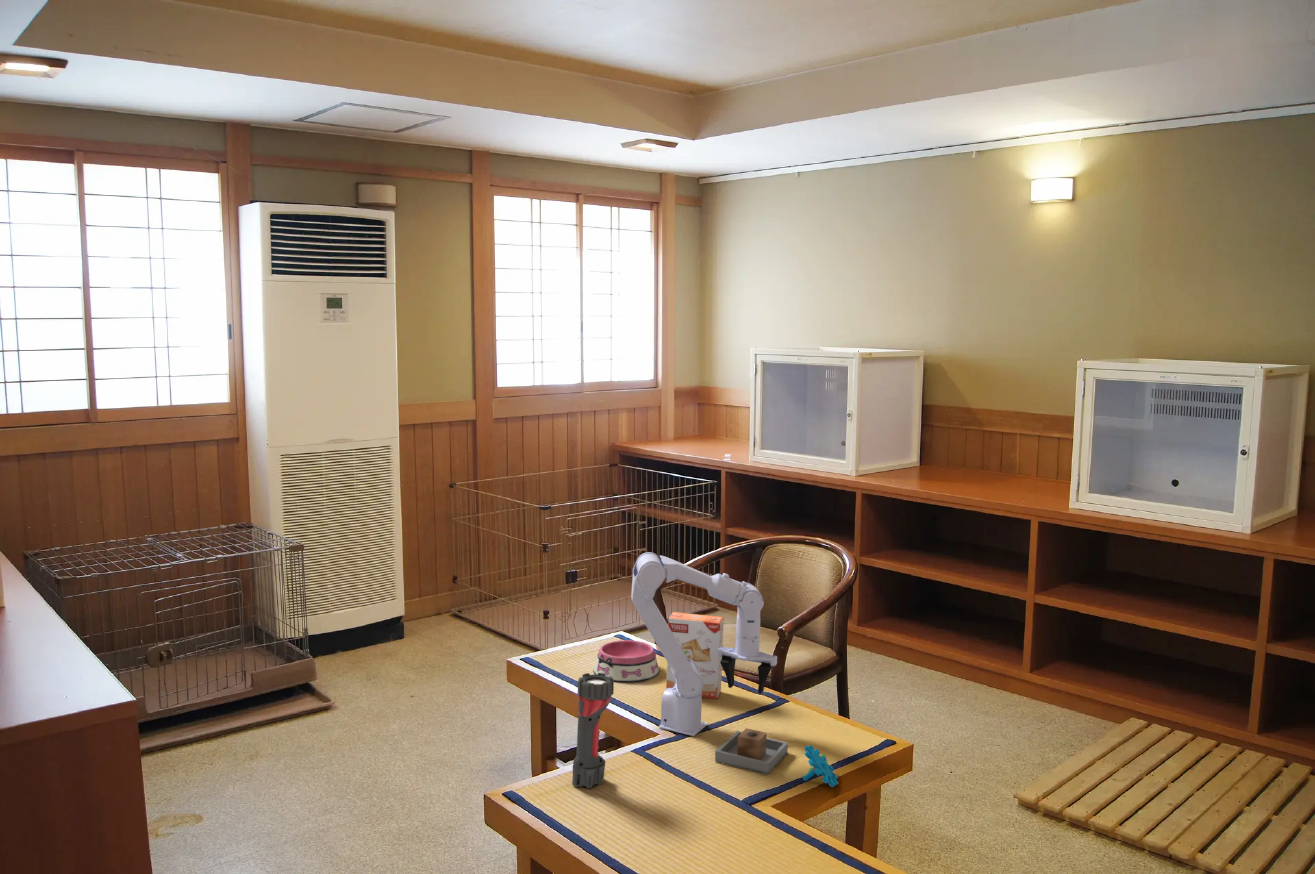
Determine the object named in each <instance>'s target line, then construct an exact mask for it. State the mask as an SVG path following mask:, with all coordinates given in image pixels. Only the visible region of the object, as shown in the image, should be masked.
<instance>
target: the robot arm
mask: <svg viewBox="0 0 1315 874" xmlns="http://www.w3.org/2000/svg"><path fill="white" fill-rule="evenodd" d="M664 580H665V583H666V584H669V583H670V582H673V581H676V580H680V581H682V582H685V583H687V584H689V585H693V586H697V587H700V588H703V589H706V590H707V593H708V596H709V597H711V598H714V599H716V600H719V601H722V602H723V603H727V604H729V605H731V606H737V611H736V612H737V614H736V623H735V625H736V628H735V629H736V630H735V633H736V634H735V647H724V646H723V647H720V648H719V649H718V657H722V660H720V663H721V665H722V670H723V671H724V674H725V676H726V677H725V678H726V680H727V688H729V689H731V688H733V686H734V685H735V668H736V661H737V660H739V661H744V662H745V661H746V662H753V663H759V666H757V672H758V688H757V693H758V694H762V693H763V692H764V690H765V685H766V682H767V680H768V677H769V674H770V673H771V670H772V668H773V667H776V666H777V664H778V656H777V655H773V654H769V653H765V652H763V651H760V639H761V611H762V609H763V608H764V605H765V602H764V598H763V596H762V594H761V592H760V591H759V590H758V588H757V587H756V586H755V585H753V584H751V582H746V581H744V580H743V581H738V580H735V579H732V577H731V578H730V575H729V574H728V573H725V572H724V573H722V574H721V573H716V574H713V575H709V574H707V573H705V572H702V571H700V570H697V569H696V568H693V567H691V566H688V565H687V564H684V563H682V562H680V561H677V560H675V559H672V558H670V557H667V556H664V555H657V554H656V553H654V552H649V551H647V552H644V553H642V554H640V555H639V556H638V558H637V559H636V561H635V563H634V565H633V568H632V581H631V595H630V597H631V602H632V605H633V606H634V608H635V610H636V611H637V613H638V615H639V616H640V618H641V620H642V622H643V623H644V625H645V627H646V628H647V630H648V632H649V633H650V635H651V636H652V637H651V638H653V640H654V642H655V643H656V645H657V647H658V649H659V650H660V652H661V654H662V656H663V657H664V659H665V660H666V663H667V662H668V664H669V666H670V668H671V670H672V672H673V677H674V679H675V681H676V683H675V685H674V687H673V688H667V689H666V688H665V690H664V692H663V693H662V696H661V703H660V704H661V705H660V725H658V726H659V727H658V728H660V729H663V730H666V731H671V732H673V733H674V732H675V733H679V734H683V735H687V736H691V737H692V736H693V737H695V736H696V735H697V734H698V733H700V732H701V731H702V730H703V729H704V728H705V727H707V726H708V722H706V721H702V709H703V708H702V706H703V705H702V704H703V697H702V688H703V680H702V678H701V676H700V674H699V672H698V668H697V665H696V664H695V663H694V662H693V661H691V660H690V659H689V658H688V657H687V656H686V654H685V653H684V651H683V650H682V649H681V647H680V645H679V643H678V642H677V640H676V638H675V637H674V635H673V633H672V631H671V630H670V628H669V626H668V623H667V621H666V620H665V617H664V616H663V615H662V614H663V613H661V611H660V610H659V608H658V606H657V604H656V603H655V600H654V597H655V595H656V592H657V589H659V587H660V586H661V585H662V584H663V582H664Z"/></svg>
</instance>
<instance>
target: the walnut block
mask: <svg viewBox="0 0 1315 874" xmlns="http://www.w3.org/2000/svg"><path fill="white" fill-rule="evenodd" d="M741 732H742V733H741V734H740V735H739V736H738V747H737V755H740V756H744V757H749V758H753V759H757V760H761V758H762V757H763V756H764V755H765V754H766V738H767V732H765V731H760V730H756V729H751V728H744V729H743V730H742V731H741Z"/></svg>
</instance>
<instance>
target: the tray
mask: <svg viewBox="0 0 1315 874" xmlns="http://www.w3.org/2000/svg"><path fill="white" fill-rule="evenodd" d="M742 732H743V731H740V730H737V731H736V732H734V733H733V734H732V735H731V736H730V737H728V739H726V741H725V742H724V743H722V744H721V745H720V746H719V747H718V748H717V749H716V750H715V754H714V757H715V758H714V762H715V761H716V763H718V762H719V764H722V763H724V764H723V765H727V766H731V767H734V768H739V769H742V770H746V771H749V772H750V771H751V772H755V773H757V774H763V775H766V776H768V775H769V774H770V773H771V772H772V771H773V770H774V768H776V767H777V765H778V764H779V763H780V762H781V761H782V760H783V759H784V758H785V757H786V755H787V754H788V752H789V742H786V741H784V740H783V741H782V740H779V739H774V738H769V737H766V754H765V755H764V756H763V757H762V758H761V760H757V759H753V758H749V757H744V756H740V755H737V747H738V736H739V735H740V734H741V733H742Z"/></svg>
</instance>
